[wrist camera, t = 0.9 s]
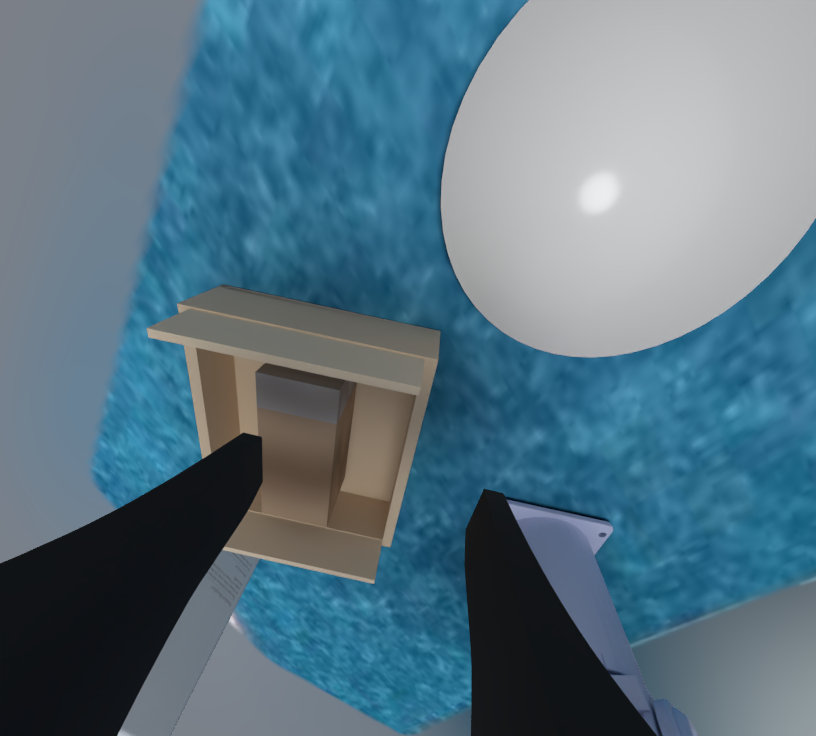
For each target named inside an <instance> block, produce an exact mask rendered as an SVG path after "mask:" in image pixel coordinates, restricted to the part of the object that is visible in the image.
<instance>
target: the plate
mask: <svg viewBox="0 0 816 736" xmlns="http://www.w3.org/2000/svg"><path fill="white" fill-rule="evenodd" d="M441 216H442V227H443V234H444V239H445V243H446V248H447V252H448V256H449V258H450V261H451V264H452V267H453V269H454V272H455V274H456V276H457V278H458V280H459V282H460V284H461V286H462V288H463V290H464V292H465V293H466V294H467V296H468V297H469V299H470V300H471V302H472V303H473V304H474V306H475V307H476V308H477V309H478V310H479V311H480V312H481V313H482V314H483V316H484V317H485V318H486V319H487V320H488V321H489V322H491V323H492V324H493V325H494V326H496V327H497V328H498V329H499V330H501V331H502V332H503V333H505V334H507V335H508V336H510V337H512V338H513V339H515V340H517V341H519V342H521V343H523V344H526V345H528V346H530V347H533V348H535V349H538V350H542V351H546V352H549V353H553V354H558V355H565V356H572V357H604V356H615V355H621V354H626V353H632V352H636V351H640V350H643V349H647V348H650V347H654V346H657V345H660V344H662V343H665V342H668V341H670V340H673V339H675V338H678V337H680V336H682V335H684V334H686V333H688V332H690V331H692V330H694V329H696V328H698V327H700V326H702V325H704V324H705V323H707V322H709V321H710V320H712V319H713V318H715V317H717V316H718V315H720V314H722V313H723V312H725V311H726V310H727V309H729V308H730V307H731V306H733V305H734V304H735V303H737V302H738V301H740V300H741V299H742V298H744V297H745V296H746V295H747V294H749V293H750V292H751V291H752V290H753V289H754V288H755V287H756V286H758V285H759V284H760V283H761V282H762V281H763V280H764V279H765V278H767V277H768V276H769V275H770V274H771V272H772V271H773V270H774V269H775V268H776V267H777V266H778V265H779V264H780V263H781V262H782V261H783V260H784V259H785V258H786V257H787V256H788V255H789V253H790V252H791V251H792V249H793V248H794V247H795V246H796V244H797V243H798V242H799V241H800V239H801V238H802V237H803V235H804V234H805V233H806V232H807V230H808V229H809V227H810V226H811V224H812V223H813V221H814V220H815V218H816V0H529V1H528V2H527V3H526V4H525V5H524V6H523V7H522V8H521V9H520V10H519V12H518V13H517V14H516V15H515V17H514V18H513V19H512V20H511V22H510V23H509V24H508V25H507V27H506V28H505V29H504V30H503V32H502V33H501V34H500V35H499V36H498V38H497V39H496V41H495V42H494V44H493V46H492V47H491V49H490V50H489V52H488V53H487V55H486V57H485V58H484V60H483V61H482V63H481V64H480V66H479V68H478V70H477V72H476V74H475V76H474V78H473V80H472V82H471V84H470V86H469V88H468V90H467V92H466V94H465V96H464V98H463V100H462V103H461V106H460V108H459V111H458V114H457V116H456V119H455V122H454V124H453V127H452V131H451V135H450V139H449V143H448V147H447V151H446V154H445V161H444V168H443V175H442V182H441Z"/></svg>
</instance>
